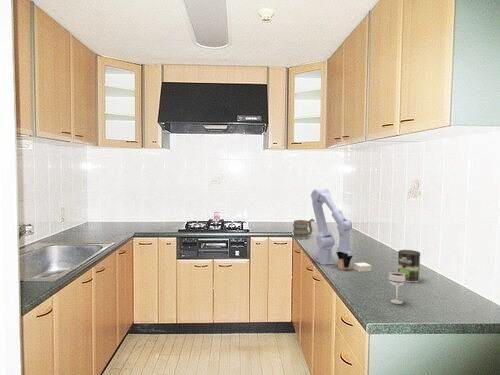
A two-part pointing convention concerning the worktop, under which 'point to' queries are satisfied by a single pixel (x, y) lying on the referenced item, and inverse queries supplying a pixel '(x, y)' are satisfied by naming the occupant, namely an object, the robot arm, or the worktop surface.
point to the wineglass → (397, 282)
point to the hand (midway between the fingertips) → (344, 265)
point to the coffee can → (409, 265)
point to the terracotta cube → (342, 265)
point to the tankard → (302, 229)
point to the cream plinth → (362, 267)
